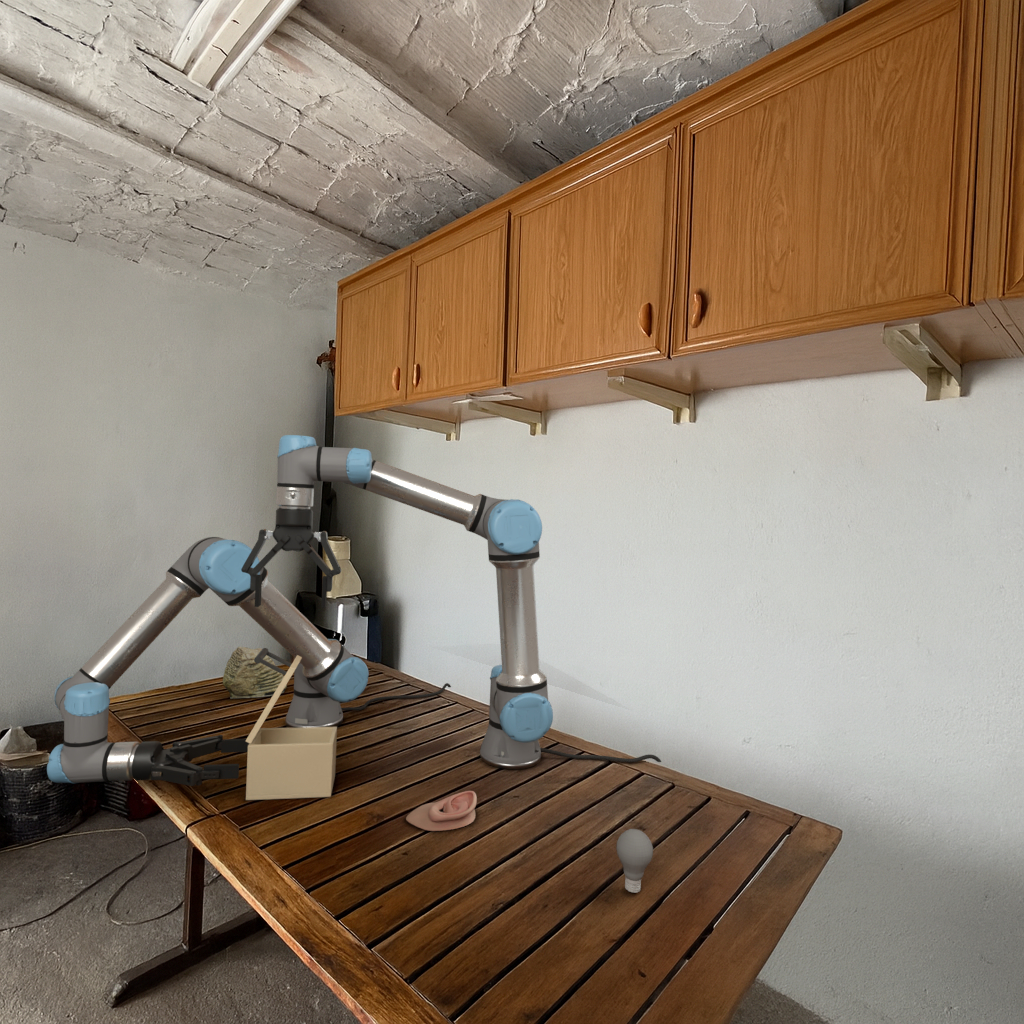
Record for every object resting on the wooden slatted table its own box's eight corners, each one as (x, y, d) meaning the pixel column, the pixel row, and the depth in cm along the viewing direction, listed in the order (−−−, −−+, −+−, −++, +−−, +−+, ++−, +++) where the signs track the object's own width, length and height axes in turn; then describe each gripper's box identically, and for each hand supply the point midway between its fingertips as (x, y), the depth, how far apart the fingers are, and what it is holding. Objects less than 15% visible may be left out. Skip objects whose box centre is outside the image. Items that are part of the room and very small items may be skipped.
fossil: (218, 695, 195) (220, 647, 195) (278, 685, 208) (279, 640, 207) (228, 703, 189) (230, 653, 188) (289, 692, 201) (290, 645, 201)
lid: (302, 657, 142) (268, 639, 140) (295, 669, 132) (258, 650, 130) (260, 726, 141) (225, 709, 139) (250, 744, 131) (213, 725, 129)
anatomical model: (400, 806, 123) (421, 781, 134) (399, 826, 123) (420, 799, 134) (466, 816, 120) (481, 789, 131) (465, 836, 120) (481, 808, 131)
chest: (335, 776, 144) (337, 726, 144) (330, 796, 134) (332, 743, 134) (256, 778, 141) (258, 728, 140) (245, 800, 131) (247, 745, 131)
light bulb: (610, 879, 108) (613, 822, 108) (644, 879, 109) (647, 822, 109) (619, 902, 102) (622, 840, 102) (655, 901, 103) (658, 840, 103)
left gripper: (158, 754, 143) (257, 751, 147) (110, 808, 119) (230, 802, 123) (159, 721, 143) (258, 719, 147) (111, 768, 119) (232, 764, 123)
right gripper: (228, 505, 130) (224, 608, 130) (353, 510, 135) (349, 610, 135) (237, 505, 137) (233, 602, 138) (355, 509, 142) (351, 604, 142)
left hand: (246, 757), depth 135 cm, fingers open, 13 cm apart
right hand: (291, 606), depth 136 cm, fingers open, 13 cm apart
